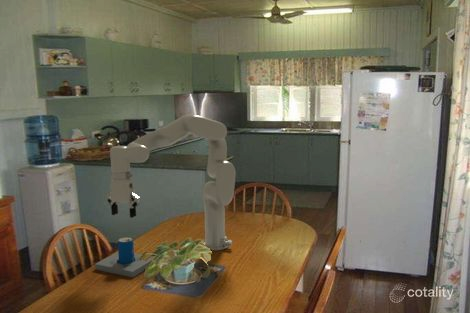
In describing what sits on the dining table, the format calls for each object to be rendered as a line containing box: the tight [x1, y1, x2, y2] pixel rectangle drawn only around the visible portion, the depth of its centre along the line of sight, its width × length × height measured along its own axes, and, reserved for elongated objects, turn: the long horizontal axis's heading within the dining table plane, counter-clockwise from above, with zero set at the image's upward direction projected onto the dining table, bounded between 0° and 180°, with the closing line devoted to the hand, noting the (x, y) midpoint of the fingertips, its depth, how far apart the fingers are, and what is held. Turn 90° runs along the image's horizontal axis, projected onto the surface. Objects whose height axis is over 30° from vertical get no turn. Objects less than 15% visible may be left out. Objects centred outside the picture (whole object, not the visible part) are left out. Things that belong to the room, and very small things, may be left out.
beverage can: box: [117, 236, 135, 264], centre depth 180 cm, size 6×6×12 cm
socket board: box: [94, 251, 153, 279], centre depth 181 cm, size 20×16×2 cm
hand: (123, 215), depth 178 cm, fingers open, 9 cm apart
